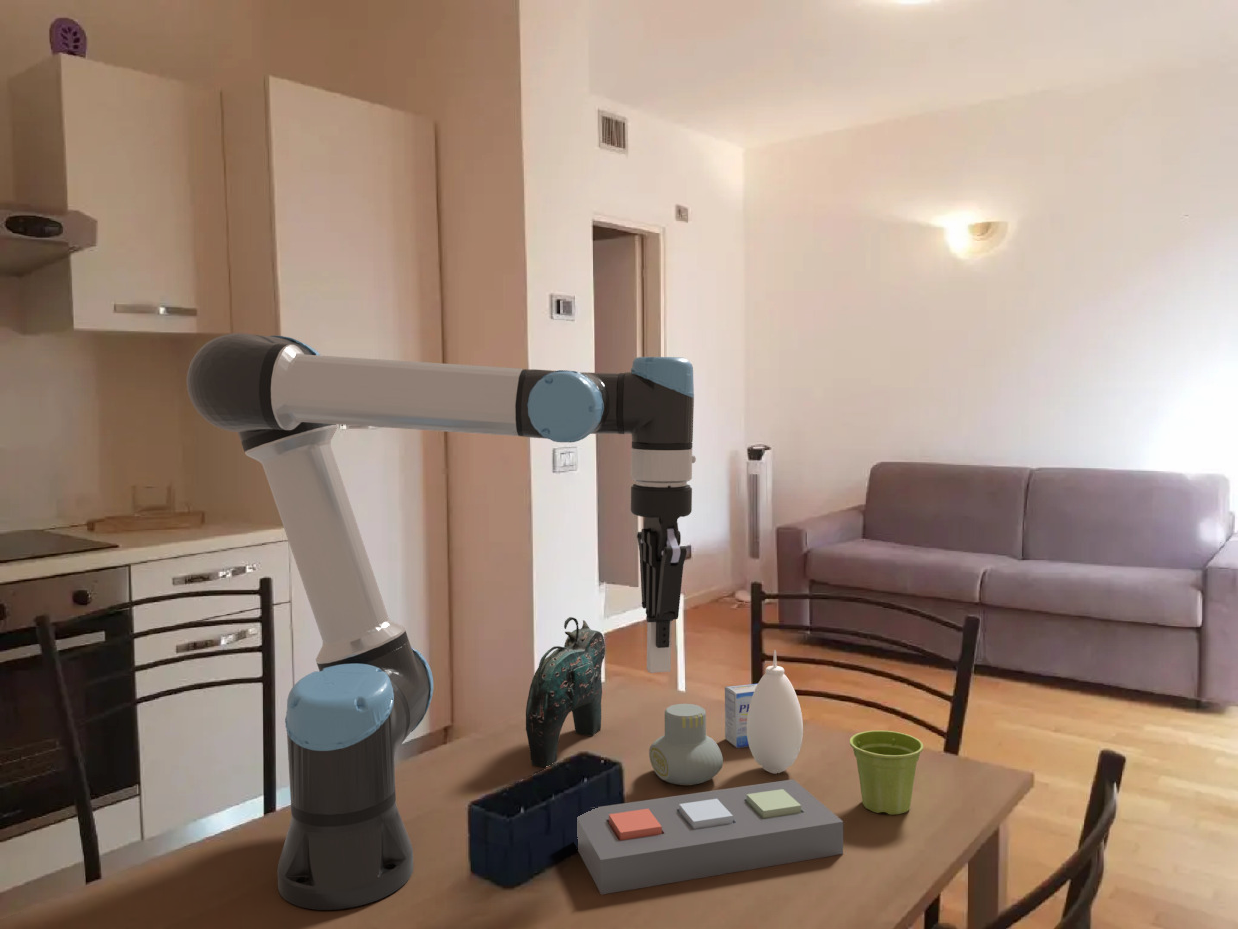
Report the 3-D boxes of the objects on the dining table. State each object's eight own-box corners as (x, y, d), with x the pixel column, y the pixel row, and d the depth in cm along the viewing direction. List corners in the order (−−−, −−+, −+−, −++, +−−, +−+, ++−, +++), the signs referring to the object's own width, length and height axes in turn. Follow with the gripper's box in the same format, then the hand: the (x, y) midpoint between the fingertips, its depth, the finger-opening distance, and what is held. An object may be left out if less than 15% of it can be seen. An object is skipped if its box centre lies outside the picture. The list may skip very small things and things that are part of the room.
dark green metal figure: (581, 723, 162) (579, 605, 160) (616, 728, 159) (614, 608, 158) (518, 766, 144) (515, 633, 143) (556, 773, 141) (553, 638, 140)
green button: (763, 835, 117) (763, 811, 117) (746, 817, 122) (746, 794, 122) (801, 829, 119) (801, 805, 119) (782, 812, 124) (782, 789, 123)
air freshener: (729, 787, 136) (728, 717, 135) (675, 797, 133) (674, 726, 132) (694, 759, 146) (694, 694, 145) (644, 768, 143) (643, 702, 142)
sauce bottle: (736, 770, 141) (736, 649, 140) (772, 756, 146) (772, 639, 145) (777, 787, 135) (777, 660, 134) (813, 772, 140) (813, 650, 139)
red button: (621, 857, 112) (620, 832, 112) (609, 838, 117) (608, 814, 117) (661, 851, 114) (661, 826, 114) (648, 832, 119) (648, 808, 118)
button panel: (601, 894, 108) (600, 860, 107) (573, 842, 120) (572, 810, 120) (843, 854, 116) (843, 821, 116) (793, 808, 129) (793, 779, 128)
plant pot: (834, 800, 131) (834, 737, 130) (887, 785, 135) (888, 725, 135) (883, 827, 123) (883, 761, 122) (938, 811, 127) (939, 747, 126)
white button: (693, 846, 115) (693, 821, 115) (679, 827, 120) (679, 804, 119) (732, 840, 116) (732, 815, 116) (717, 822, 121) (717, 798, 121)
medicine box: (735, 749, 150) (735, 694, 149) (724, 739, 154) (724, 685, 153) (782, 743, 152) (782, 689, 151) (769, 733, 156) (769, 680, 155)
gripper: (708, 488, 114) (704, 684, 116) (674, 477, 127) (671, 654, 129) (647, 489, 112) (644, 688, 114) (618, 478, 125) (616, 657, 127)
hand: (658, 670), depth 122 cm, fingers closed
